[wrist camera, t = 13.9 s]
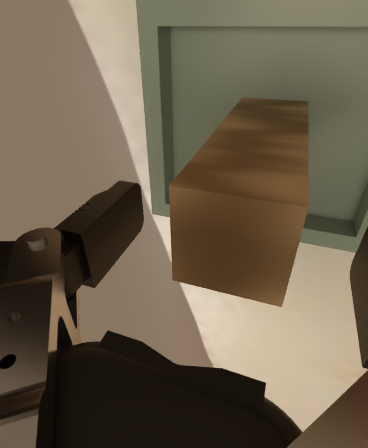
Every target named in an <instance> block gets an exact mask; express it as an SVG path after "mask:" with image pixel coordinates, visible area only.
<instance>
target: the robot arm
mask: <svg viewBox="0 0 368 448" xmlns="http://www.w3.org/2000/svg"><path fill="white" fill-rule="evenodd" d="M143 222H144V215H143V205H142V194H141V187H140V185H139V184H138V183H133V182H126V181H118V182H117V183H116V184H114V185H113V186H112V187H111V188H110V189H108V190H107V191H104V192H101V193H99V194H97V195H95V196H93V197H92V198H91V199H89V200H88V201H87V202H86V204H83V205H82V206H81V207H80V208H79V210H76V211H75V212H74V213H72V214H71V215H70V216H69V217H67V218H66V219H65V220H64V221H63V222H61V223H60V224H59V225H58V226H56V227H55V228H38V229H34V230H31V231H28V232H26V233H24V234H23V235H21V236H20V237H18V239H17V240H16V241H0V448H368V371H367V372H366V373H364V374H363V375H362V376H361V377H360V378H359V379H358V380H357V381H356V382H355V383H354V384H353V385H352V386H351V387H350V388H349V389H348V390H347V391H346V392H345V393H344V394H342V395H341V396H340V397H339V398H338V399H337V400H336V401H335V402H334V403H333V404H332V405H331V406H330V407H329V408H328V409H327V410H326V411H325V412H324V413H323V414H322V415H320V416H319V417H318V418H317V419H316V420H315V421H314V422H313V423H312V424H311V425H310V426H309V427H308V428H307V429H306V430H305V431H304V432H302V431H301V430H300V429H299V427H298V426H297V425H296V424H295V423H294V421H293V420H292V419H291V418H290V417H289V416H288V415H287V414H286V413H285V412H284V411H283V410H282V409H280V408H279V407H278V406H277V405H275V404H274V403H273V402H271V401H270V400H268V399H267V398H265V397H264V395H265V387H266V383H265V382H262V381H259V380H256V379H253V378H250V377H247V376H244V375H241V374H238V373H235V372H232V371H229V370H226V369H223V368H210V367H197V366H183V365H177V364H175V363H173V362H171V361H170V360H168V359H167V358H166V357H164V356H163V355H161V354H160V353H158V352H157V351H155V350H154V349H152V348H151V347H149V346H148V345H146V344H145V343H143V342H141V341H138V340H135V339H132V338H129V337H126V336H123V335H120V334H117V333H114V332H111V331H107V332H106V334H105V335H104V337H103V339H102V340H101V342H86V343H81V332H80V302H79V292H78V289H79V288H80V286H81V285H86V286H89V287H92V288H95V287H96V286H97V285H98V283H99V282H100V281H101V280H102V279H103V277H104V276H105V275H106V274H107V272H108V271H109V270H110V269H111V267H112V266H113V265H114V264H115V262H116V261H117V260H118V259H119V257H120V256H121V255H122V254H123V252H124V251H125V250H126V249H127V247H128V246H129V245H130V244H131V242H132V241H133V240H134V239H135V237H136V236H137V235H138V233H139V232H140V231H141V229H142V226H143ZM350 282H351V290H352V297H353V304H354V311H355V318H356V325H357V332H358V340H359V347H360V354H361V361H362V367H363V368H367V369H368V227H367V229H366V231H365V233H364V235H363V238H362V240H361V242H360V245H359V247H358V249H357V252H356V254H355V256H354V259H353V261H352V265H351V270H350Z"/></svg>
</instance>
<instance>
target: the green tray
mask: <svg viewBox="0 0 368 448" xmlns="http://www.w3.org/2000/svg"><path fill="white" fill-rule="evenodd" d="M136 6H137V19H138V32H139V45H140V58H141V72H142V85H143V98H144V111H145V124H146V137H147V150H148V163H149V176H150V189H151V202H152V214H155V215H160V216H166V217H170V202H169V185H170V184H171V183H172V181H173V180H174V179H175V178H176V177H177V175H178V174H179V173H180V172H181V171H182V169H183V168H184V167H185V166H186V165H187V163H188V162H189V161H190V160H191V159H192V157H193V156H194V155H195V154H196V153H197V151H198V150H199V149H200V148H201V147H202V145H203V144H204V143H205V142H206V141H207V139H208V138H209V137H210V136H211V135H212V133H213V132H214V131H215V130H216V129H217V127H218V126H219V125H220V124H221V123H222V121H223V120H224V119H225V118H226V117H227V115H228V114H229V113H230V112H231V111H232V109H233V108H234V107H235V106H236V105H237V103H238V102H239V101H240V100H241V99H242V97H246V98H262V99H278V100H294V101H308V142H309V208H308V212H307V215H306V219H305V223H304V226H303V230H302V234H301V237H300V241H299V242H303V243H308V244H314V245H319V246H324V247H329V248H335V249H340V250H345V251H351V252H357V249H358V247H359V245H360V242H361V240H362V238H363V235H364V233H365V231H366V229H367V227H368V0H136Z"/></svg>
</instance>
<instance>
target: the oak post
mask: <svg viewBox="0 0 368 448" xmlns="http://www.w3.org/2000/svg"><path fill="white" fill-rule="evenodd" d="M169 202H170V227H171V251H172V275H173V280H174V281H178V282H182V283H186V284H190V285H194V286H198V287H202V288H206V289H210V290H214V291H218V292H223V293H227V294H231V295H235V296H239V297H243V298H247V299H251V300H255V301H259V302H263V303H267V304H271V305H275V306H279V307H282V304H283V300H284V297H285V293H286V289H287V286H288V282H289V278H290V274H291V271H292V267H293V263H294V260H295V256H296V252H297V249H298V245H299V241H300V237H301V234H302V230H303V226H304V223H305V219H306V215H307V212H308V208H309V142H308V101H294V100H278V99H262V98H246V97H242V99H241V100H240V101H239V102H238V103H237V105H236V106H235V107H234V108H233V109H232V111H231V112H230V113H229V114H228V115H227V117H226V118H225V119H224V120H223V121H222V123H221V124H220V125H219V126H218V127H217V129H216V130H215V131H214V132H213V133H212V135H211V136H210V137H209V138H208V139H207V141H206V142H205V143H204V144H203V145H202V147H201V148H200V149H199V150H198V151H197V153H196V154H195V155H194V156H193V157H192V159H191V160H190V161H189V162H188V163H187V165H186V166H185V167H184V168H183V169H182V171H181V172H180V173H179V174H178V175H177V177H176V178H175V179H174V180H173V181H172V183H171V184H170V185H169Z"/></svg>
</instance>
